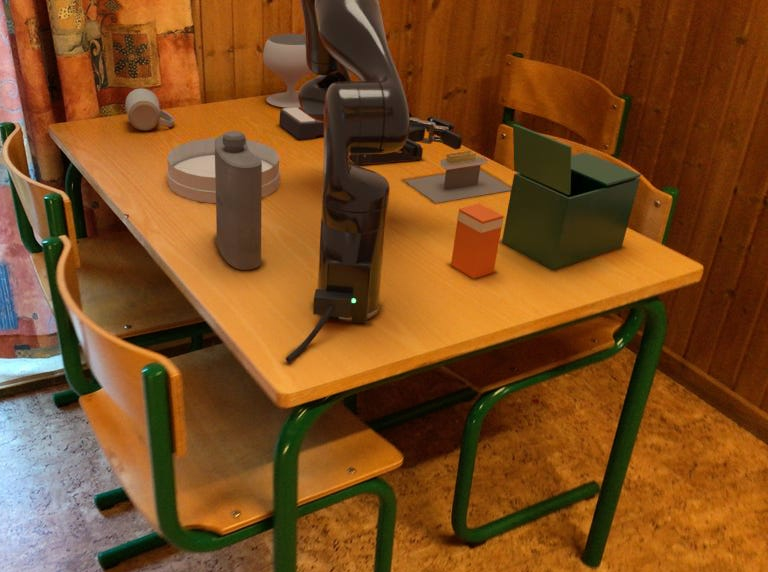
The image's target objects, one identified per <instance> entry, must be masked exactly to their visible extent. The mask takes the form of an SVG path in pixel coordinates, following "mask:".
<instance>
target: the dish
mask: <svg viewBox="0 0 768 572" xmlns="http://www.w3.org/2000/svg"><path fill="white" fill-rule="evenodd" d="M216 138H217V137H210V138H201V139H195V140H191V141H188V142H184V143H182V144H179V145H177V146H175V147H174V148H172V149H171V150H170V151H169V152H168V154H167V157H166V161H167V172H166V177H167V186H168V187H169V188H170V190H171V191H172V192H174V193H175V194H176V195H177V196H180V197H183V198H185V199H187V200H192V201H195V202H200V203H207V204H216V183H215V140H216ZM246 140H247V146H248V148H249V150H250V151H251V152H252V153H253V154H254V155H255V156H256V157H258V158H259V159H260V160H261V162H262V198H265V197H267V196H269V195H271V194H273V193H274V192H275V191H276V190H278V188H279V186H280V184H281V172H280V155H279V152H277V151H276V150H275V148H273V147H272V146H269V145H268V144H265V143H262V142H258V141H256V140H251V139H246Z"/></svg>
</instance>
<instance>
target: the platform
mask: <svg viewBox="0 0 768 572" xmlns="http://www.w3.org/2000/svg"><path fill="white" fill-rule="evenodd" d="M488 162H489V160H488V159H486V158H485V157H480V156H477V152H473V153H472V149H468V150H463V151H456V152H449V153H446V157H445V158H443V159H440V160H439V165H440V167H441V169H443V170H445V173H444V174H436V175H431V176H430V175H429V176H423V177H416V178H410V179H404V180H403V181H404V183H406V184H408V185H410V186H411V187H412V188H413V189H415V190H417V191H418V192H419V193H420V194H422V195H423V196H425V197H427V198H428V199H429V200H431V201H432V202H434V203H435V204H437V203H444V202H451V201H455V200H462V199H467V198H473V197H474V198H475V197H479V196H487V195H490V194H497V193H498V194H499V193H502V192H503V193H504V192H508V191H510V192H511V189H512V187H510V186H509V185H507V184H505V183H503V182H502V181H500V180H499V179H497V178H495V177H493V176H492V175H490V174H488V173H487V172H485V171H484V170H481V166H482V165H487V164H488Z"/></svg>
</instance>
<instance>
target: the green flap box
mask: <svg viewBox="0 0 768 572" xmlns="http://www.w3.org/2000/svg"><path fill="white" fill-rule="evenodd" d="M641 175H642V174H641V173H638V172H636V171H633V170H631V169H628V168H626V167H623V166H621V165H618V164H615V163H613V162H611V161H608V160H606V159H603V158H601V157H598V156H595V155H593V154H591V153H588V152H581V153H578V154H571V188H570V195H567V194H565V193H562V192H560V191H558V190H556V189H554V188H551V187H549V186H547V185H545V184H543V183H540V182H538V181H536V180H534V179H532V178H529V177H527V176H525V175H523V174H521V173H518V172H516V173H514V174H513V177H512V183H511V188H512V189H511V190H510V195H509V200H508V206H507V211H506V216H505V223H504V227H503V233H502V238H501V243H502V244H504V245H506V246H507V247H510V248H511V249H514V251H517V252H519V253H521V254H523V255H525V256H526V257H528V258H530V259H532V260H533V261H535V262H537V263H539V264H541V265H543V266H544V267H546V268H548V269H551V270H552V271H554V270H558V269H560V268H564V267H567V266H570V265H573V264H576V263H579V262H582V261H585V260H588V259H592V258H594V257H597V256H601V255H603V254H607V253H610V252H612V251H615V250H619V249H623V244H624V241H625V237H626V233H627V230H628V226H629V222H630V218H631V216H632V215H631V214H632V211H633V207H634V203H635V200H636V197H637V193H638V190H639V185H640V182H641V179H640V177H641Z"/></svg>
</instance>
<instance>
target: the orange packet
mask: <svg viewBox="0 0 768 572" xmlns="http://www.w3.org/2000/svg"><path fill="white" fill-rule="evenodd" d="M503 222H504V215H503V214H501V213H499V212H497V211H495V210H494V209H492V208H490V207H488V206H486V205H484V204H481V203H480V202H479V203H476V204H472V205H468V206H464V207H461V208H460V207H459V208H458V212H457V219H456V227H455V234H454V241H453V248H452V253H451V254H452V255H451V261H450V266H452V267H453V268H455V269H456V270H458V271H460V272H462V273H463V274H465V275H466V276H468V277H470V278H471V279H473V280H475V279H477V278H481V277H484V276H487V275H489V274H493V273H494V272H495V267H496V266H495V265H496V261H497V256H498V250H499V244H500V238H501V233H502V228H503Z"/></svg>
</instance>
